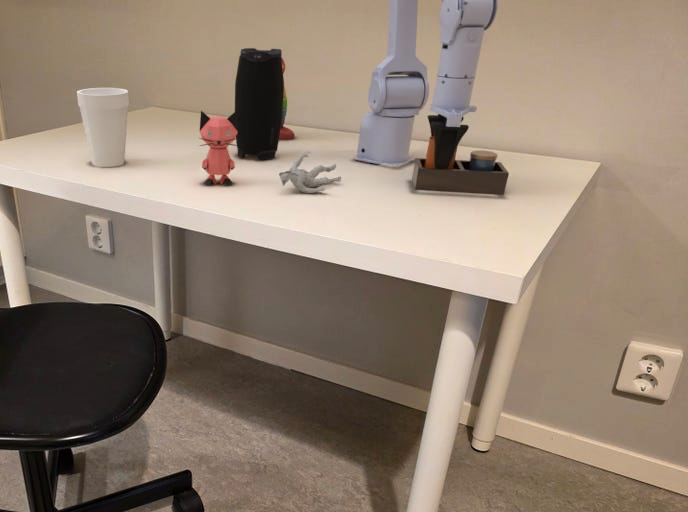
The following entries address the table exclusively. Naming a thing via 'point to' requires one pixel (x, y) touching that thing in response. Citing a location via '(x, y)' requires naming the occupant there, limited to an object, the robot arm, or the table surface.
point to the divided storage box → (460, 178)
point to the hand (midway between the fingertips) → (439, 163)
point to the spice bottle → (430, 156)
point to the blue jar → (482, 160)
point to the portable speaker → (259, 102)
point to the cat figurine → (218, 146)
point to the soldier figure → (307, 177)
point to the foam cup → (105, 124)
